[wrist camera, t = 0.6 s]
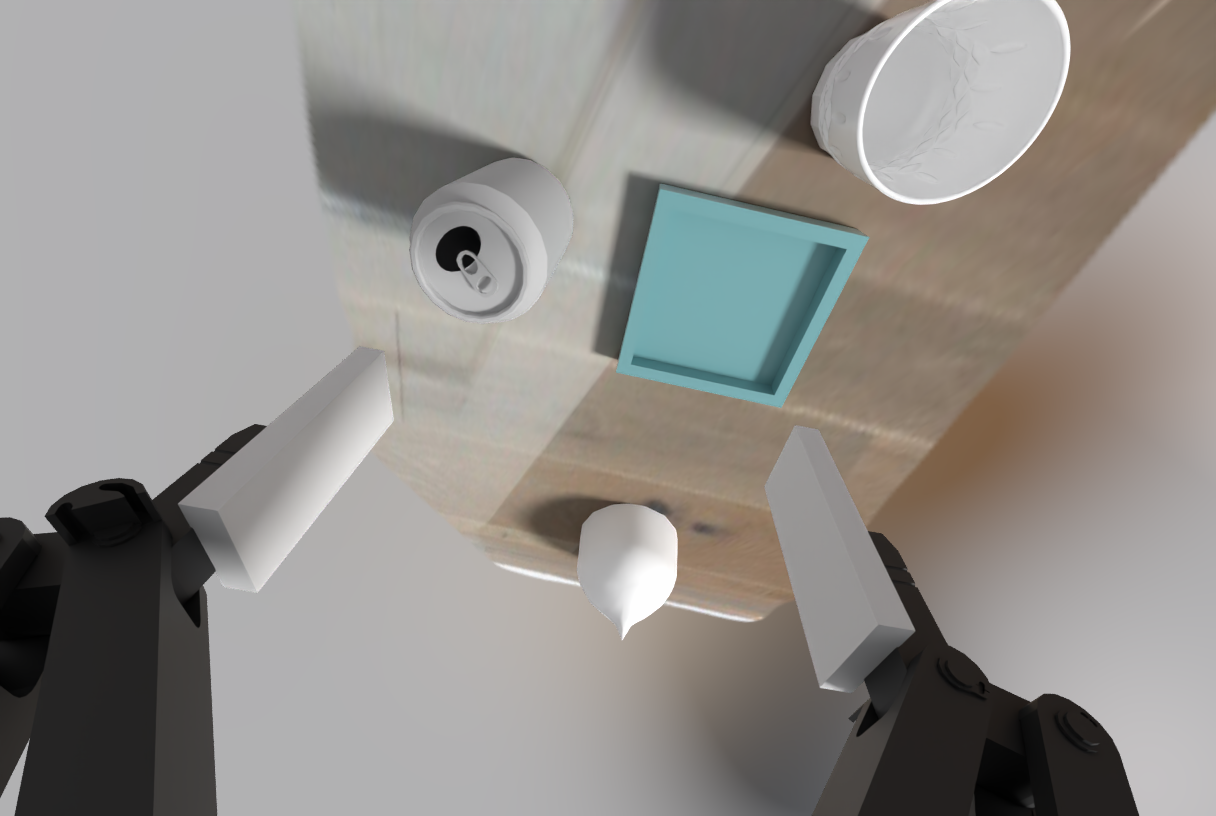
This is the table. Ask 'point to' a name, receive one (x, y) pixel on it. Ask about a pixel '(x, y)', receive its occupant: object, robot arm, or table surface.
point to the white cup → (942, 95)
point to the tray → (733, 295)
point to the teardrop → (627, 562)
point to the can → (491, 240)
